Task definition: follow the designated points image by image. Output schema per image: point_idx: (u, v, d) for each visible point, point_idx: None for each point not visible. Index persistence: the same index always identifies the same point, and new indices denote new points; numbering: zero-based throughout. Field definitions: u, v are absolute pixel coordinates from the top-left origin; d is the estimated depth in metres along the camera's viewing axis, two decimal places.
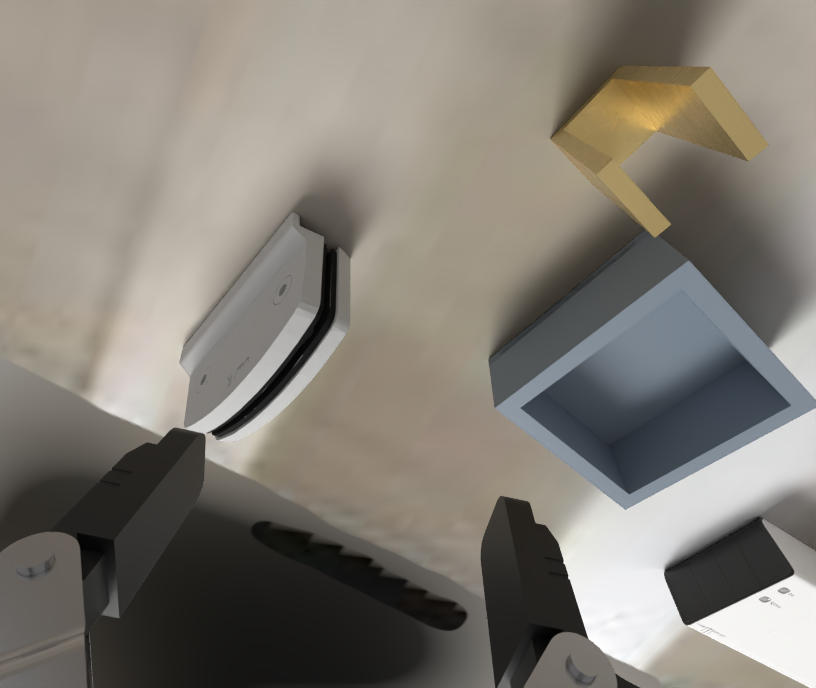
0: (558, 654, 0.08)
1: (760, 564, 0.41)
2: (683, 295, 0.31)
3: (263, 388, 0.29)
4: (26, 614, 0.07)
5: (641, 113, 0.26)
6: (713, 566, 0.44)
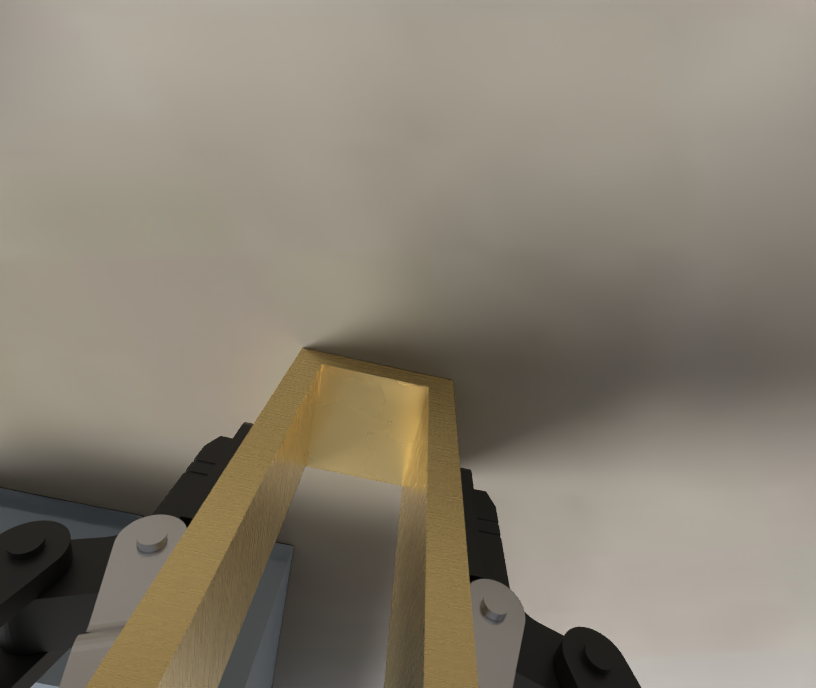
0: (473, 597, 0.09)
1: None
2: None
3: None
4: None
5: (410, 454, 0.15)
6: None
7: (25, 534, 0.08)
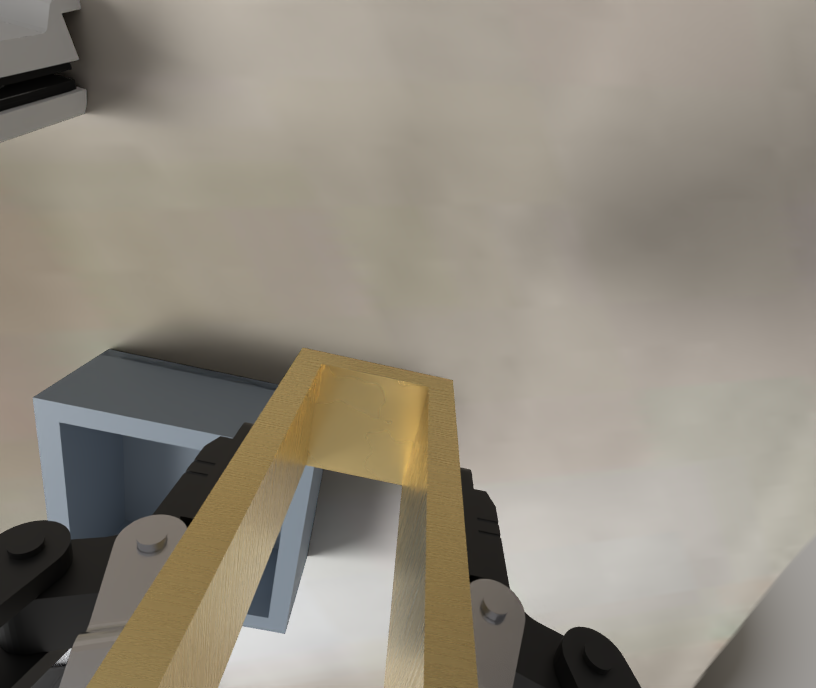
0: (473, 596, 0.09)
1: None
2: None
3: None
4: None
5: (410, 454, 0.15)
6: (48, 687, 0.39)
7: (24, 534, 0.08)
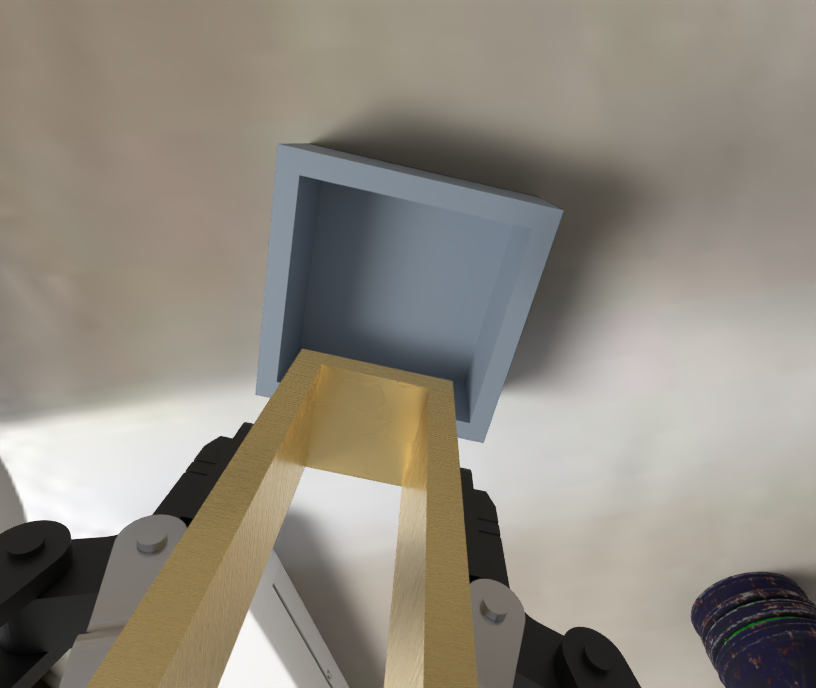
0: (473, 596, 0.09)
1: None
2: (495, 278, 0.30)
3: None
4: None
5: (409, 455, 0.15)
6: None
7: (25, 534, 0.08)
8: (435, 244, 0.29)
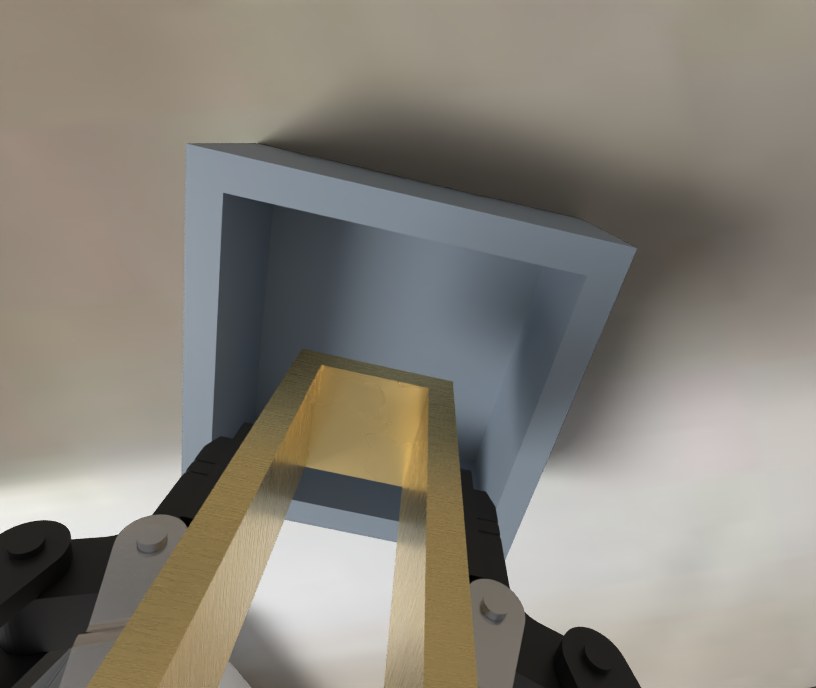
0: (473, 596, 0.09)
1: None
2: (518, 330, 0.21)
3: None
4: None
5: (410, 455, 0.15)
6: None
7: (25, 534, 0.08)
8: (436, 284, 0.21)
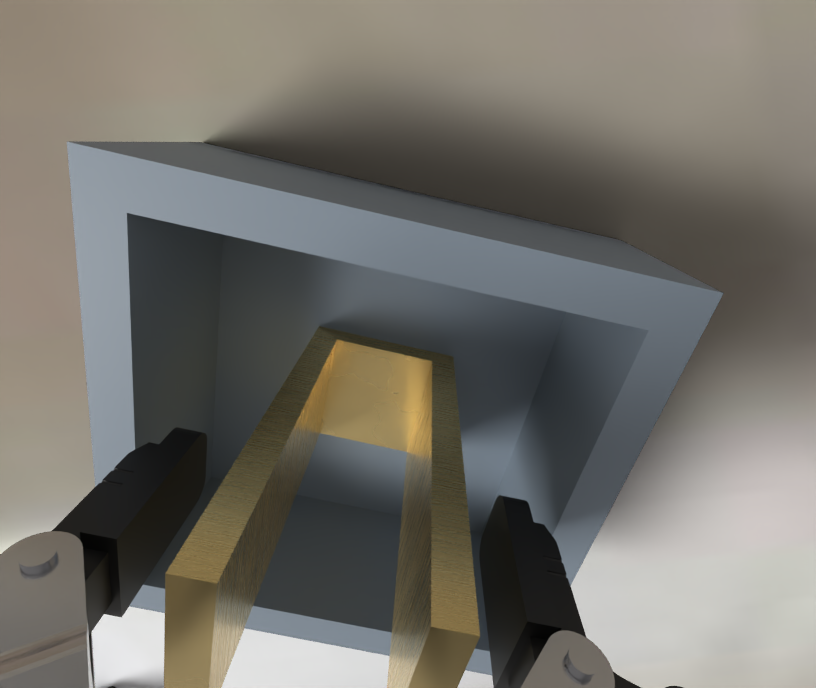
0: (556, 652, 0.08)
1: None
2: (538, 378, 0.17)
3: None
4: (29, 613, 0.07)
5: (414, 422, 0.17)
6: None
7: None
8: (435, 322, 0.16)
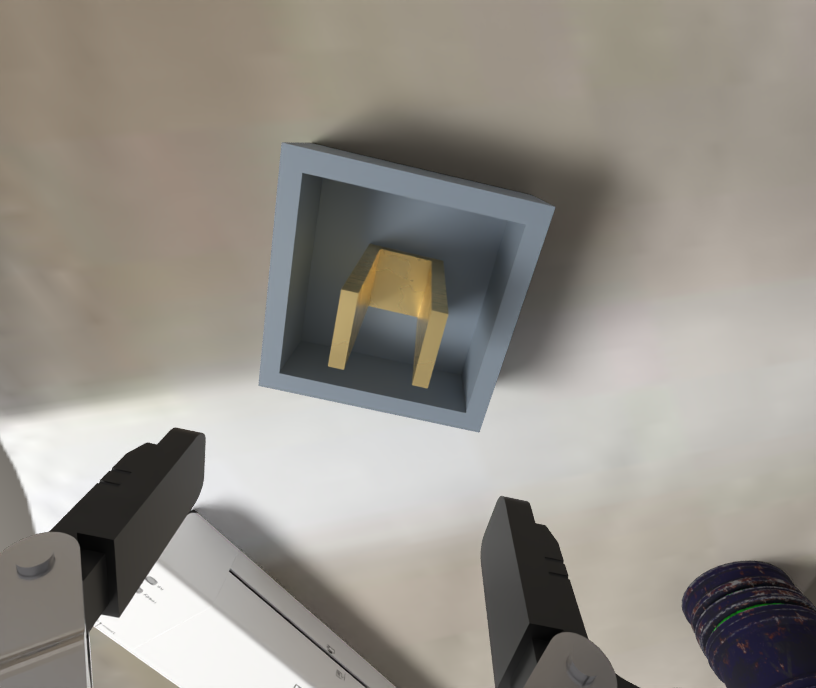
0: (558, 654, 0.08)
1: None
2: (490, 273, 0.31)
3: None
4: (26, 614, 0.07)
5: (421, 298, 0.31)
6: None
7: None
8: (433, 240, 0.30)
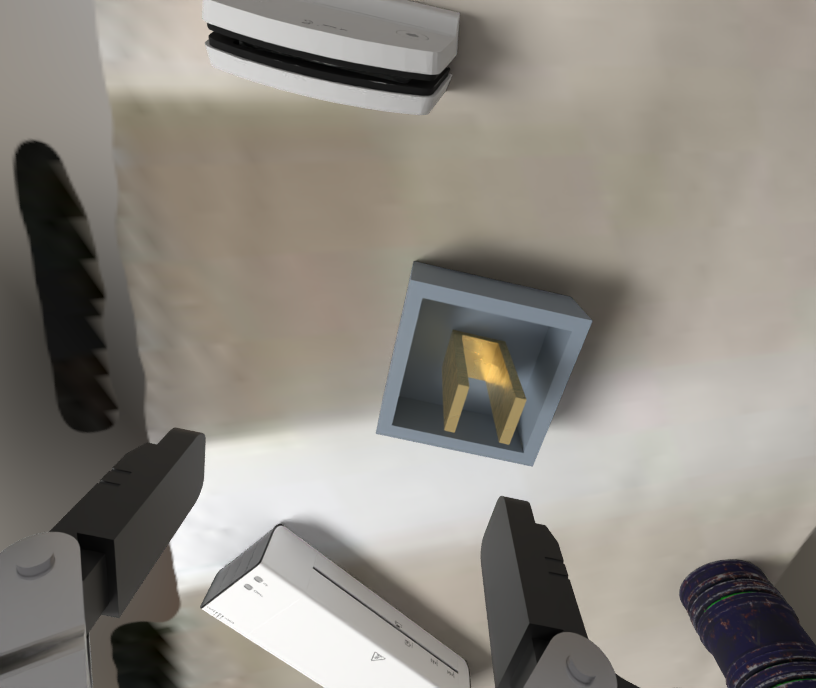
0: (558, 654, 0.08)
1: (253, 558, 0.50)
2: (539, 350, 0.42)
3: (330, 61, 0.27)
4: (26, 614, 0.07)
5: (489, 368, 0.42)
6: (239, 561, 0.53)
7: None
8: (499, 328, 0.41)
